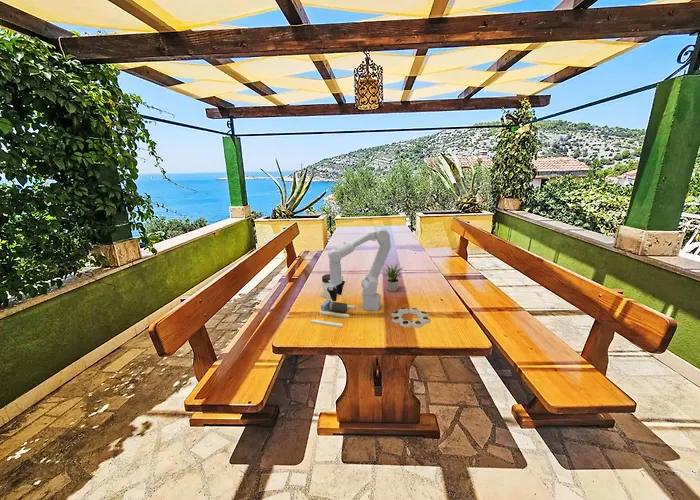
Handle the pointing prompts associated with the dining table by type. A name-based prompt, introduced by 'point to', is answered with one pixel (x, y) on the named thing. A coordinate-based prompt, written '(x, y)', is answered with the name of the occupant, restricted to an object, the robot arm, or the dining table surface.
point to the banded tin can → (337, 306)
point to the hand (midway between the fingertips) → (336, 297)
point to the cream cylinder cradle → (324, 311)
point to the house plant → (393, 281)
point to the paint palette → (400, 320)
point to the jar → (326, 285)
